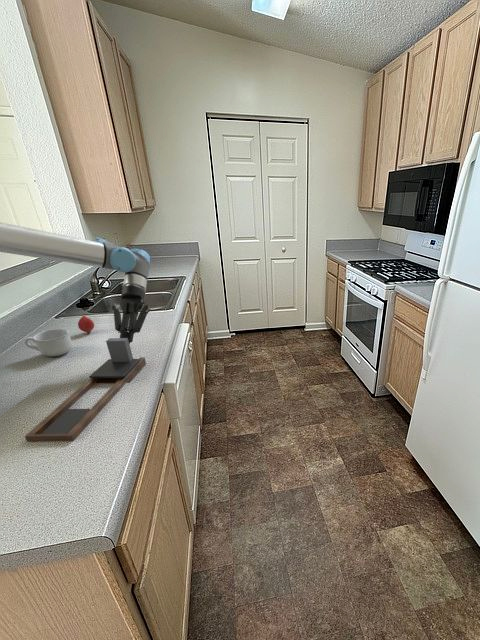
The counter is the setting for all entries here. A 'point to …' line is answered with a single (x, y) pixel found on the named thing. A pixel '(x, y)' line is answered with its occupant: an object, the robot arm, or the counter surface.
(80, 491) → the counter surface
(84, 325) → the onion
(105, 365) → the lid
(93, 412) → the long wooden tray frame
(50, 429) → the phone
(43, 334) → the teacup
